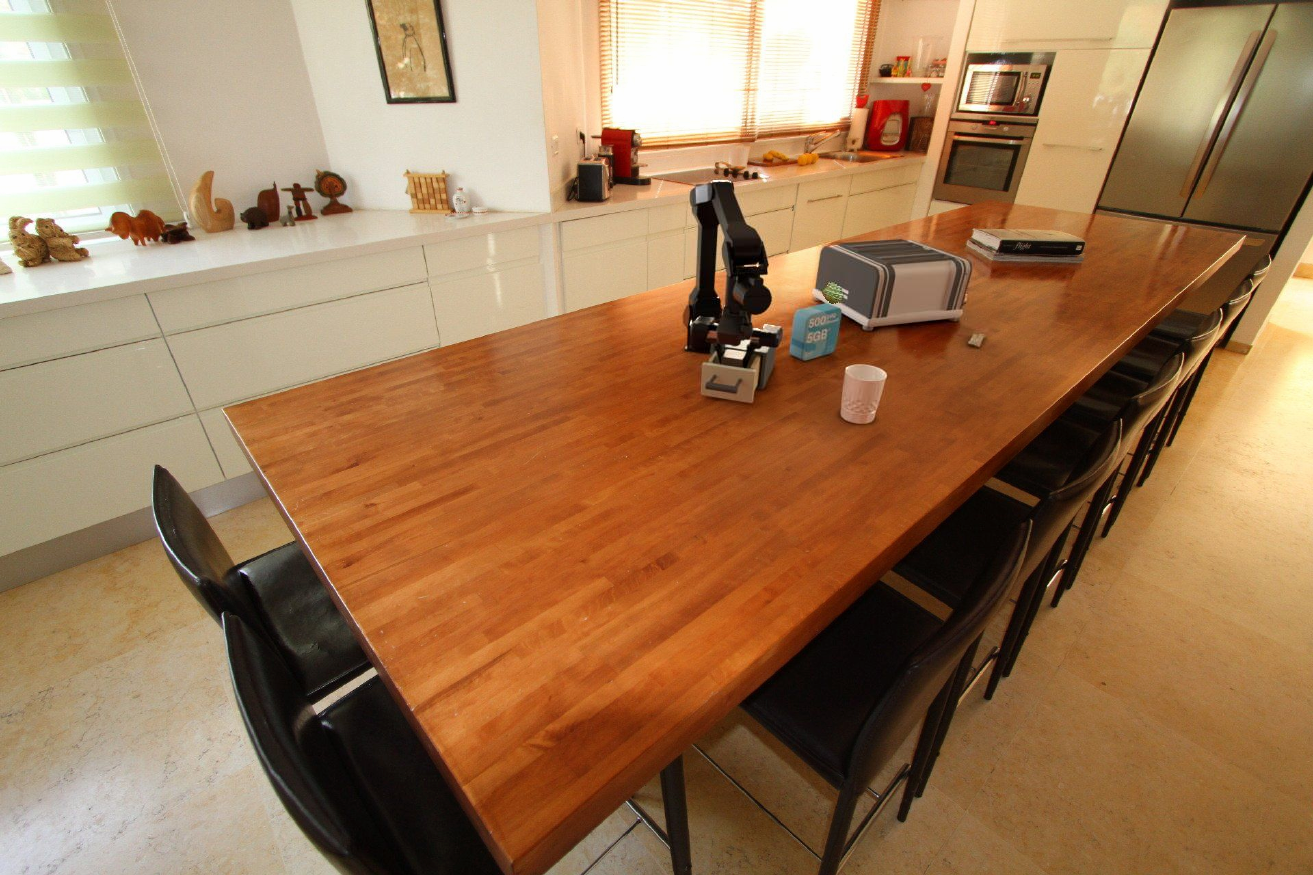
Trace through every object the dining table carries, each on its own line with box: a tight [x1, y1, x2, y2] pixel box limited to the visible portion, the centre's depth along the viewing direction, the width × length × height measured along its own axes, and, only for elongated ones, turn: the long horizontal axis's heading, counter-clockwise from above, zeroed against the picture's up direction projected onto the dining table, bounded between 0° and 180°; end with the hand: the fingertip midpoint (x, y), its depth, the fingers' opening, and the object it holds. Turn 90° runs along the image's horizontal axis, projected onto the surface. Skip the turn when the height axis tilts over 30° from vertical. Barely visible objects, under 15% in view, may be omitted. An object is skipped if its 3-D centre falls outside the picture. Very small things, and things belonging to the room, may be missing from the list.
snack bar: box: [967, 333, 986, 348], centre depth 157 cm, size 10×2×3 cm
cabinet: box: [709, 340, 777, 391], centre depth 137 cm, size 14×12×9 cm
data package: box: [789, 302, 843, 362], centre depth 147 cm, size 12×4×12 cm, turn 122°
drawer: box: [700, 350, 763, 404], centre depth 128 cm, size 18×11×7 cm, turn 160°
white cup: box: [839, 364, 888, 425], centre depth 120 cm, size 8×8×10 cm
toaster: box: [812, 238, 973, 332], centre depth 176 cm, size 31×36×18 cm
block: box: [721, 349, 746, 368], centre depth 128 cm, size 4×4×4 cm
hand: (733, 368), depth 128 cm, fingers closed on block, 4 cm apart
